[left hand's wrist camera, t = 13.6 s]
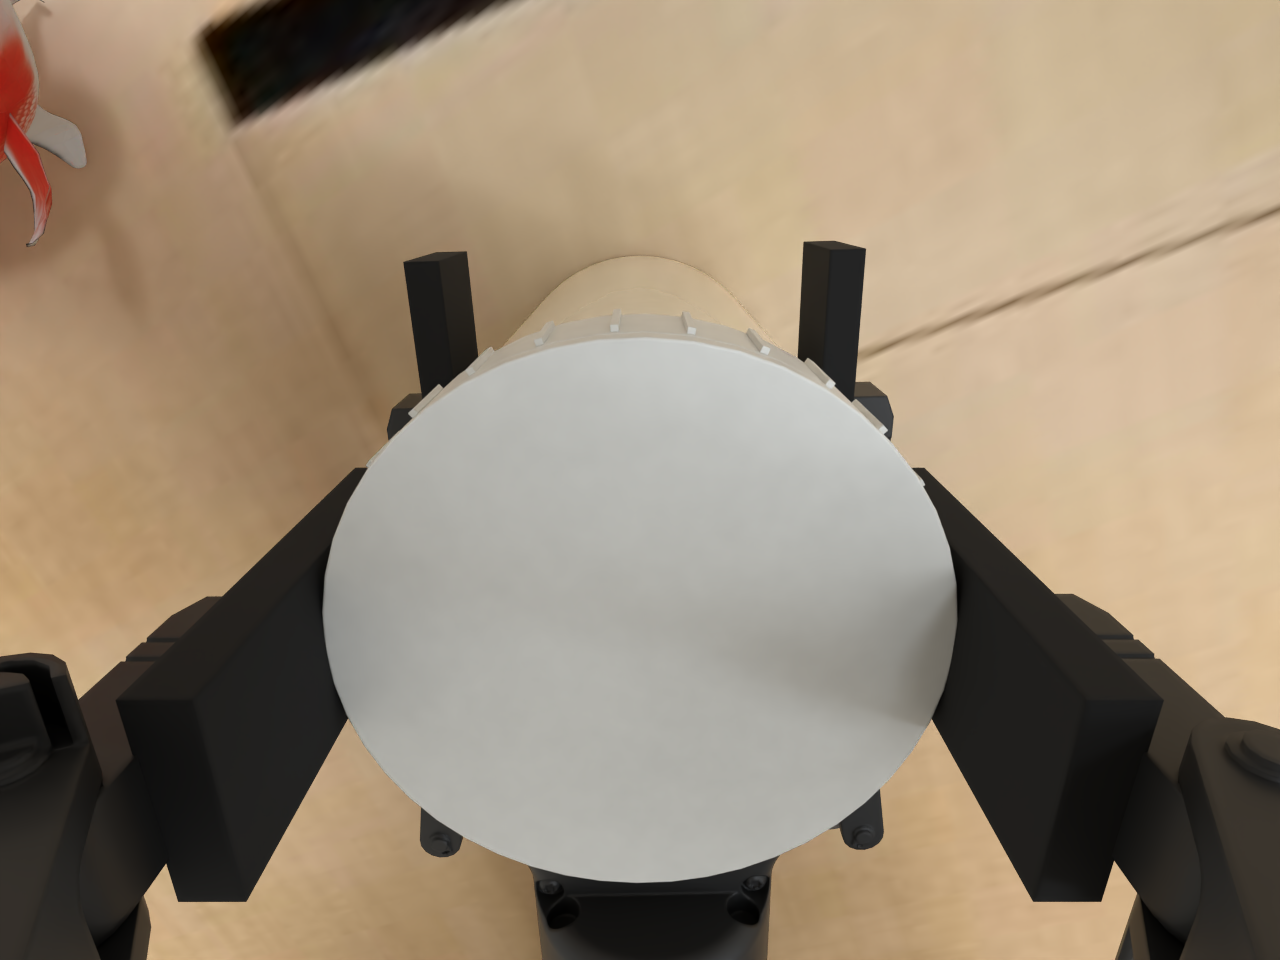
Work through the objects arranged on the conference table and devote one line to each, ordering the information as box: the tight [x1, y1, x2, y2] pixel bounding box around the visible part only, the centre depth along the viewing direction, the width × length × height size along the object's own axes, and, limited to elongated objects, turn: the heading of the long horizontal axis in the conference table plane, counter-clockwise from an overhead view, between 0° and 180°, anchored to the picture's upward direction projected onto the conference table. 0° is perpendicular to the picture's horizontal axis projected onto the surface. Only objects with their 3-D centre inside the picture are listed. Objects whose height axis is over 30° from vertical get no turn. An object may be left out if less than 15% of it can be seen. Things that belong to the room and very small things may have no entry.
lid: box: [322, 309, 958, 883], centre depth 11 cm, size 9×9×2 cm
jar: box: [501, 255, 779, 348], centre depth 18 cm, size 8×8×15 cm
